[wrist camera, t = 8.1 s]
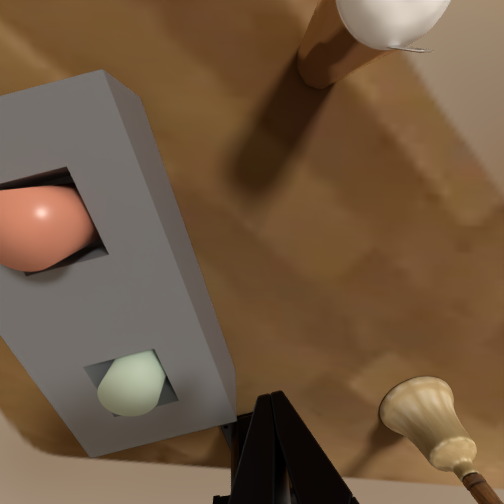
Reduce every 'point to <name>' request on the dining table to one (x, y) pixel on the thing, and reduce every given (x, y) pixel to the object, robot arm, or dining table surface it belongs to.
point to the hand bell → (435, 430)
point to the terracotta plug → (43, 226)
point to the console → (109, 269)
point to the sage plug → (132, 384)
